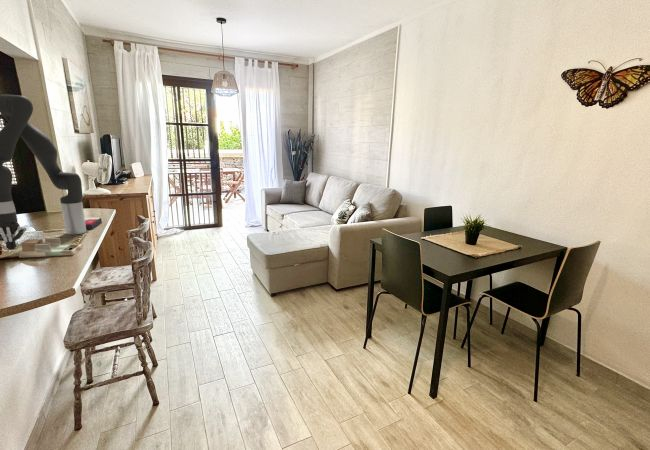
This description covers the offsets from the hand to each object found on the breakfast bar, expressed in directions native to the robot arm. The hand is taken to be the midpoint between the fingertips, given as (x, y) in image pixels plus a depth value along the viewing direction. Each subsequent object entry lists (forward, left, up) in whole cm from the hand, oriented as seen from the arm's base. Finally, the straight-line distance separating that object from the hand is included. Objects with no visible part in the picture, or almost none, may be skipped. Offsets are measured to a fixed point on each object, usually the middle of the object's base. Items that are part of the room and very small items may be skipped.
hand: (11, 249), depth 143 cm
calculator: (-47, +12, -3) cm, 49 cm away
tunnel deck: (0, +15, -2) cm, 15 cm away
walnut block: (0, +8, 0) cm, 8 cm away
